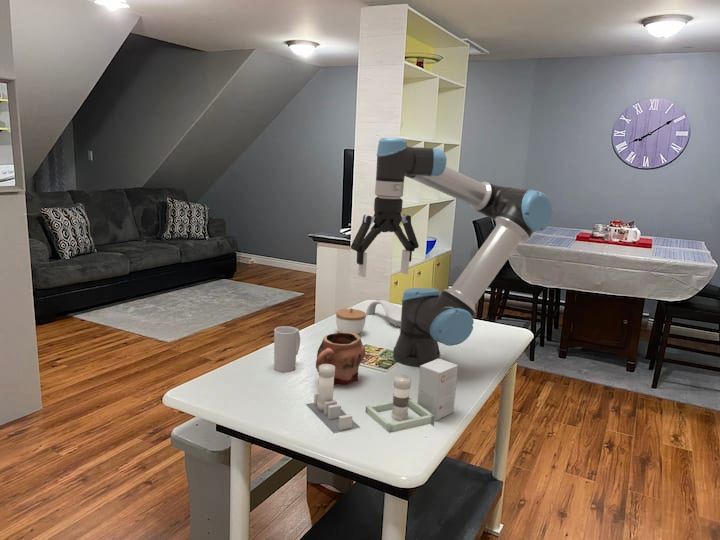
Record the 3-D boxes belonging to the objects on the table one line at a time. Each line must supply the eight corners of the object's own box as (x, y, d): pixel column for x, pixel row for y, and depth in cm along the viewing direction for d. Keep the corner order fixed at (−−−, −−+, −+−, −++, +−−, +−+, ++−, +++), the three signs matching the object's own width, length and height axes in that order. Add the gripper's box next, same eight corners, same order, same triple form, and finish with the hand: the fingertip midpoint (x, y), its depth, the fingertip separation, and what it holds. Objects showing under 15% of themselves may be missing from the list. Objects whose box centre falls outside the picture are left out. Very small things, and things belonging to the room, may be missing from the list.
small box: (434, 403, 151) (438, 357, 148) (454, 412, 147) (458, 364, 144) (415, 412, 145) (419, 365, 142) (435, 421, 141) (440, 372, 138)
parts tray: (408, 408, 147) (409, 397, 147) (433, 427, 138) (434, 416, 137) (365, 417, 141) (365, 406, 140) (388, 437, 132) (389, 426, 131)
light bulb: (401, 415, 142) (405, 374, 139) (410, 422, 138) (414, 380, 136) (388, 418, 140) (391, 376, 138) (396, 425, 137) (400, 382, 134)
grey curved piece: (423, 326, 217) (425, 308, 216) (403, 332, 209) (405, 313, 208) (379, 312, 233) (380, 295, 232) (358, 316, 225) (359, 299, 224)
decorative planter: (338, 402, 148) (340, 352, 145) (299, 391, 154) (301, 342, 151) (372, 377, 166) (375, 332, 163) (336, 368, 171) (338, 324, 168)
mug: (285, 374, 164) (287, 335, 162) (268, 368, 168) (269, 330, 165) (307, 364, 173) (309, 327, 170) (290, 359, 176) (291, 322, 174)
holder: (330, 404, 147) (332, 359, 144) (360, 433, 133) (363, 383, 130) (305, 409, 143) (307, 363, 141) (333, 439, 130) (335, 388, 127)
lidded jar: (330, 330, 206) (331, 305, 204) (357, 327, 210) (358, 303, 208) (342, 339, 196) (343, 314, 194) (369, 337, 201) (371, 311, 199)
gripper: (354, 198, 142) (349, 280, 146) (435, 199, 154) (428, 275, 158) (340, 195, 148) (336, 274, 153) (419, 196, 160) (413, 269, 165)
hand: (383, 274), depth 156 cm, fingers open, 13 cm apart
